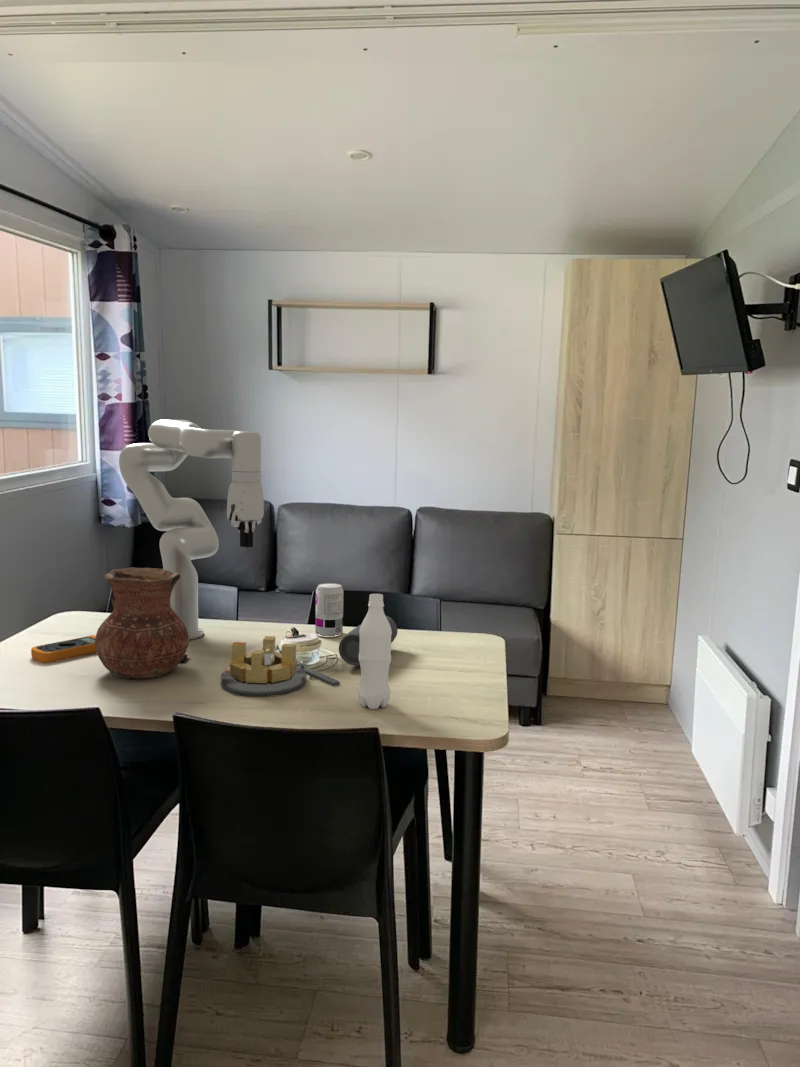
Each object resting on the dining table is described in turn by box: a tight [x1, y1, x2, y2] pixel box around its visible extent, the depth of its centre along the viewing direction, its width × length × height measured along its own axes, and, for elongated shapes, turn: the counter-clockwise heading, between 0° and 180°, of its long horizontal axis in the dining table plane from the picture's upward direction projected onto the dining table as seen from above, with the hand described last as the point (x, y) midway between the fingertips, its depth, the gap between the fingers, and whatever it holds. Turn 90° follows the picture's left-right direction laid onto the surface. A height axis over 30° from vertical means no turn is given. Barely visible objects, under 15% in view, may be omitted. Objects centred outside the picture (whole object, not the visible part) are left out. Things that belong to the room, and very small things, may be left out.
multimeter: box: [30, 634, 97, 664], centre depth 201 cm, size 9×18×3 cm, turn 141°
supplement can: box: [314, 582, 344, 636], centre depth 227 cm, size 8×8×15 cm
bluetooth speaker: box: [338, 615, 398, 666], centre depth 203 cm, size 23×9×10 cm, turn 161°
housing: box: [220, 651, 307, 698], centre depth 182 cm, size 20×20×7 cm
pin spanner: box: [297, 660, 341, 687], centre depth 187 cm, size 16×2×3 cm, turn 40°
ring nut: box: [229, 635, 298, 683], centre depth 181 cm, size 15×15×7 cm
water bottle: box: [357, 593, 392, 710], centre depth 167 cm, size 7×7×25 cm
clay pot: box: [95, 566, 190, 680], centre depth 187 cm, size 22×21×25 cm
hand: (246, 546), depth 203 cm, fingers closed
